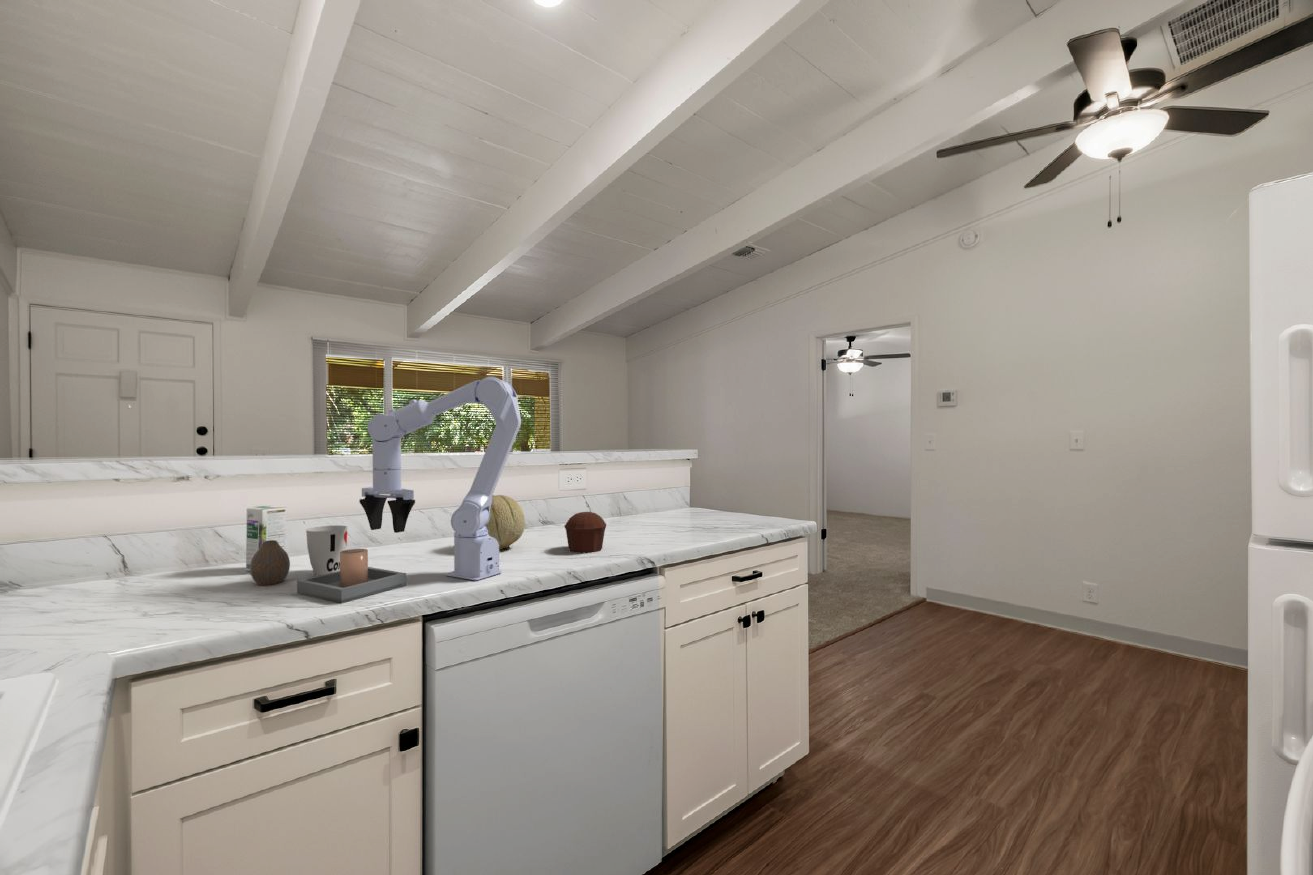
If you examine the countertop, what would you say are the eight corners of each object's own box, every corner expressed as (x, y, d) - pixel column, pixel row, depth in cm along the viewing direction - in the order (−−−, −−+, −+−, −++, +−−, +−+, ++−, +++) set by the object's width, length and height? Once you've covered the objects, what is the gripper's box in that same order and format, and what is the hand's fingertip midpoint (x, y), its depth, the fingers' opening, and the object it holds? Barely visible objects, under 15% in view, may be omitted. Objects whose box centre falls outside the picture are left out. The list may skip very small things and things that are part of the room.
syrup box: (244, 571, 130) (244, 507, 130) (270, 565, 135) (270, 504, 135) (261, 573, 128) (261, 508, 127) (287, 567, 133) (287, 505, 133)
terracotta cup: (373, 584, 116) (373, 549, 116) (351, 590, 112) (351, 554, 112) (356, 581, 119) (356, 547, 118) (334, 587, 114) (333, 552, 114)
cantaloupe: (517, 554, 148) (517, 496, 148) (461, 554, 148) (461, 496, 148) (530, 543, 163) (530, 490, 162) (479, 543, 163) (479, 490, 163)
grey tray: (406, 585, 118) (406, 573, 118) (341, 603, 106) (341, 589, 106) (362, 577, 124) (362, 565, 124) (297, 593, 112) (296, 580, 112)
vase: (297, 580, 122) (297, 539, 122) (263, 588, 115) (263, 545, 115) (277, 577, 125) (276, 537, 124) (242, 584, 118) (242, 542, 118)
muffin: (577, 544, 161) (577, 509, 161) (613, 547, 158) (613, 510, 157) (556, 552, 150) (556, 514, 150) (594, 555, 146) (594, 516, 146)
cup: (329, 577, 124) (329, 531, 124) (297, 575, 126) (297, 530, 125) (356, 569, 132) (355, 525, 132) (325, 567, 134) (325, 524, 133)
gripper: (348, 469, 126) (349, 530, 126) (393, 471, 119) (394, 536, 119) (377, 467, 132) (377, 526, 132) (421, 469, 126) (421, 530, 126)
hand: (387, 530), depth 126 cm, fingers open, 7 cm apart
